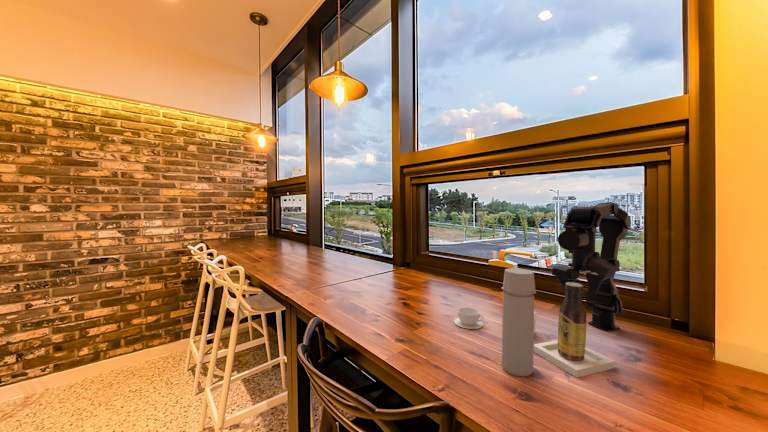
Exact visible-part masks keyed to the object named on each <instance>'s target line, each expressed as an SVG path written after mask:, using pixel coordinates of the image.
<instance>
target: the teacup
mask: <svg viewBox="0 0 768 432" xmlns="http://www.w3.org/2000/svg"><path fill="white" fill-rule="evenodd" d="M480 317H482V319H480ZM484 319H485V317H484V314H481V312H480V310H479V309H476V308H473V307H469V306H463V307H459V308H457V317H456V318H455V319H454V320H453V323H454V324H455V325H456V326H458V327H459V328H464V329H468V330H478V329H481V328H483V327H484V323H483V321H484Z"/></svg>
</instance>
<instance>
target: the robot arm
mask: <svg viewBox="0 0 768 432" xmlns="http://www.w3.org/2000/svg"><path fill="white" fill-rule="evenodd" d="M618 204H619V203H617V202H600V203H597V204H594V205H592V206H591V205H590V206H572V207H571V208H570V209H569V210H568V212H567V215H566V219H565V221H564V224H563V227H562V228H563V229H565V230H563V231H562V232H560V233H559V235H558V237H557V243H558V245H559V247H561V249H563V250H565V251H568V254H571V262H568V265H563V264H562V265H554V266H553V267H552V268H551V275H552V276H554V278H556V279H557V280H558V282H559V283H560V284H561V286H562V288H563V290H564V291H565V290H566V289H565V283H567V282H574V283H578V282H579V281H580V279H579V277H580V275H582V274H585V276H586V282H587V286H588V287H587V289H586V291H585V299H586V306H587V307H590V308H592V312H591V313H592V315H591V321H587V325H591V326H593V327H595V328H598V329H600V330H603V331H606V332H610V331H615V330H619V329H620V330H621V327H620V326H618V325H616V314H622V313H623V303H622V300H621V297H620V296H619V290H618V288H617V286H616V284H615V282H614V280H615V274H616V273H617V272H620V271H621V269H620V267H621V266H620V264H621V263H620V261H619V260H618V256H619V249H620V242H621V241H622V240H623V239H624V238H625V237H626V236H628V232H629V229H631V226H632V225H631V224H632V222H631V221H632V220H631V219H630V215H629V214H628V212H626V211H625V210H623V209H622V208H620V207H619V205H618ZM597 228H598V230H597ZM597 231H599V233H600V234H601V237H602V241H601V248H600V253H599V251H596V237H597V236H596V235H597Z"/></svg>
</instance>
